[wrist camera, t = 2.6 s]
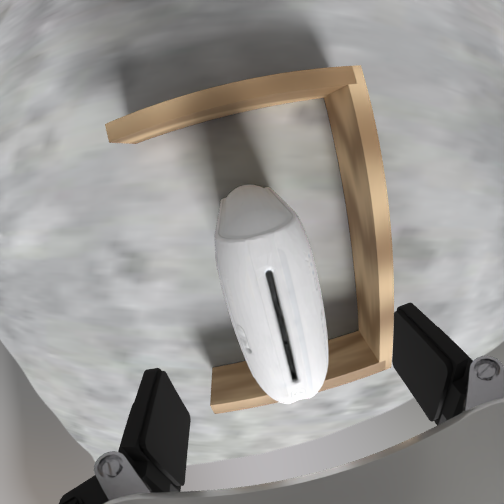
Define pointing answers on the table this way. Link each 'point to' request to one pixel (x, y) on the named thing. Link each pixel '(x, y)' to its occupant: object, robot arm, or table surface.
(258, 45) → the table surface
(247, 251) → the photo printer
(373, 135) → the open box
